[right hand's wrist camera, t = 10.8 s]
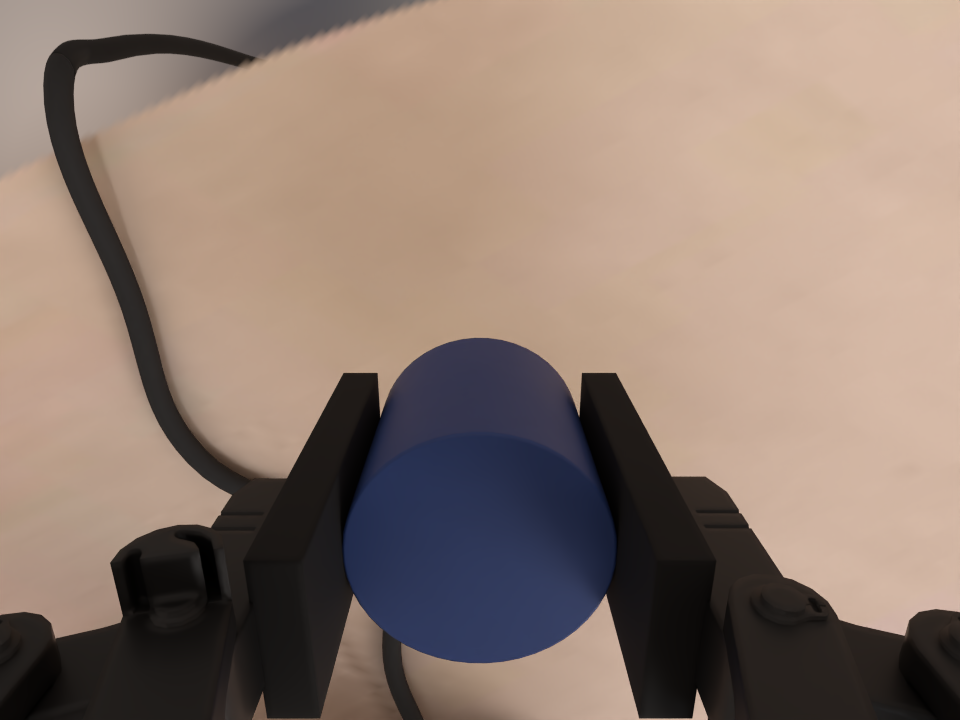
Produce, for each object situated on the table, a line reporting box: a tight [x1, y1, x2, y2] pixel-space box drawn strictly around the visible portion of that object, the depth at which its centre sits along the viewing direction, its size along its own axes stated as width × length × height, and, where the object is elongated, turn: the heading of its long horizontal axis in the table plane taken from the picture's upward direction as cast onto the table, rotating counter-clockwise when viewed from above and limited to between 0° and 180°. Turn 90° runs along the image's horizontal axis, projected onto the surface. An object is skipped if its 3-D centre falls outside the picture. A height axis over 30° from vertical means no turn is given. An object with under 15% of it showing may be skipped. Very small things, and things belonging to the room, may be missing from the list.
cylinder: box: [342, 338, 617, 663], centre depth 13 cm, size 5×5×5 cm
